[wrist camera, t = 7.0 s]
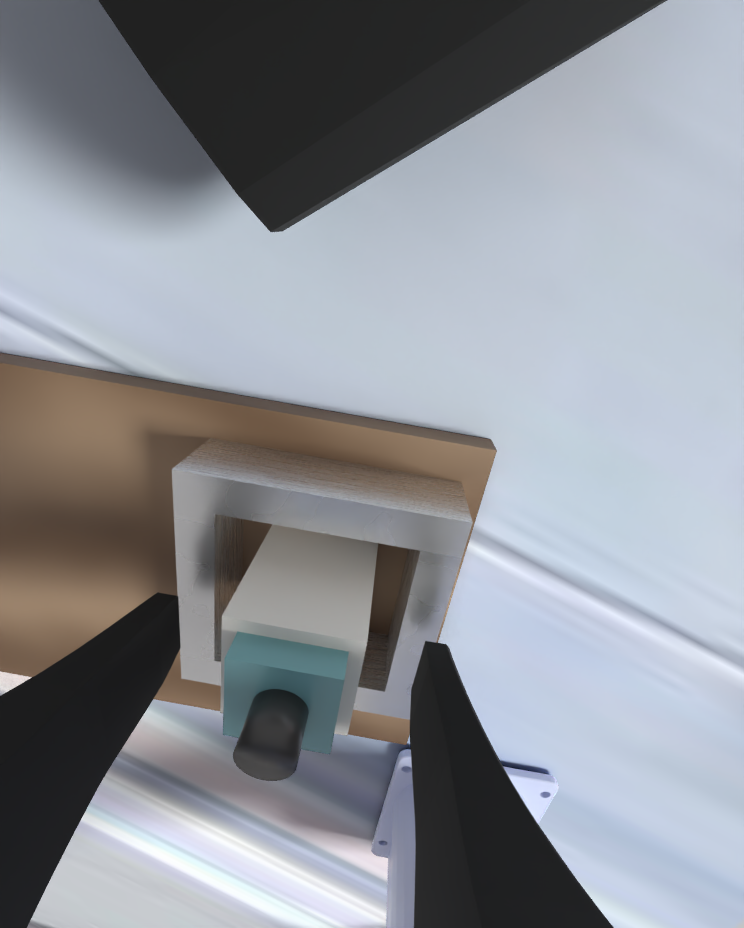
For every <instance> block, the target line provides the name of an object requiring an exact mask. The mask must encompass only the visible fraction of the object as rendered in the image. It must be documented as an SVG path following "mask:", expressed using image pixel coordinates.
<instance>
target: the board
mask: <svg viewBox="0 0 744 928" xmlns="http://www.w3.org/2000/svg"><path fill="white" fill-rule="evenodd" d="M210 438H215V439H220V440H226V441H231V442H237V443H243V444H248V445H254V446H260V447H265V448H271V449H277V450H282V451H288V452H293V453H299V454H305V455H310V456H316V457H322V458H327V459H333V460H339V461H344V462H350V463H355V464H361V465H367V466H372V467H378V468H384V469H389V470H395V471H401V472H406V473H412V474H417V475H423V476H429V477H434V478H440V479H446V480H451V481H457V482H462V485H463V489H464V493H465V496H466V500H467V504H468V507H469V511H470V515H471V519H472V522H473V523H472V527H471V530H470V533H469V536H468V540H467V543H466V546H465V550H464V553H463V556H462V559H461V563H460V566H459V569H458V572H457V576H456V579H455V582H454V586H453V589H452V592H451V595H450V599H449V602H448V605H447V608H446V612H445V615H444V618H443V622H442V625H441V628H440V631H439V635H438V638H437V641H436V643H438V640H439V637H440V634H441V630H442V627H443V624H444V621H445V617H446V614H447V611H448V608H449V604H450V601H451V598H452V595H453V591H454V588H455V585H456V582H457V578H458V575H459V572H460V569H461V565H462V562H463V559H464V556H465V552H466V549H467V546H468V543H469V539H470V536H471V533H472V530H473V526H474V523H475V520H476V517H477V513H478V510H479V507H480V504H481V500H482V497H483V494H484V491H485V487H486V484H487V481H488V478H489V474H490V471H491V468H492V465H493V461H494V458H495V455H496V452H497V450H496V448H495V446H494V444H493V442H492V441H491V439H485V438H480V437H474V436H468V435H463V434H457V433H451V432H446V431H440V430H434V429H429V428H423V427H417V426H412V425H406V424H400V423H395V422H389V421H383V420H378V419H372V418H366V417H361V416H355V415H350V414H344V413H338V412H333V411H327V410H321V409H316V408H310V407H304V406H299V405H293V404H287V403H282V402H276V401H270V400H265V399H259V398H253V397H248V396H242V395H236V394H231V393H225V392H219V391H214V390H208V389H202V388H197V387H191V386H185V385H180V384H174V383H168V382H163V381H157V380H151V379H146V378H140V377H135V376H129V375H123V374H118V373H112V372H106V371H101V370H95V369H89V368H84V367H78V366H72V365H67V364H61V363H55V362H50V361H44V360H38V359H33V358H27V357H21V356H16V355H10V354H4V353H0V671H1V672H7V673H12V674H18V675H23V676H29V677H34V676H35V675H37V674H39V673H40V672H42V671H43V670H45V669H47V668H48V667H50V666H51V665H53V664H54V663H56V662H58V661H59V660H61V659H62V658H64V657H65V656H67V655H68V654H70V653H72V652H73V651H75V650H76V649H78V648H79V647H81V646H82V645H84V644H85V643H86V642H88V641H89V640H91V639H92V638H94V637H95V636H97V635H98V634H99V633H101V632H102V631H104V630H105V629H107V628H108V627H110V626H111V625H112V624H114V623H115V622H117V621H118V620H119V619H121V618H122V617H124V616H125V615H126V614H128V613H129V612H131V611H132V610H133V609H135V608H136V607H137V606H139V605H140V604H142V603H143V602H144V601H146V600H147V599H149V598H150V597H151V596H153V595H154V594H156V593H157V592H159V593H164V594H170V595H175V596H178V594H177V573H176V551H175V529H174V508H173V486H172V469H173V468H174V467H175V466H176V465H178V464H179V463H180V462H181V461H183V460H184V459H185V458H186V457H188V456H189V455H190V454H191V453H193V452H194V451H195V450H196V449H198V448H199V447H200V446H201V445H203V444H204V443H205V442H206V441H208V440H209V439H210ZM271 526H272V524H268V523H262V522H257V521H251V520H246V519H244V530H243V558H242V579H243V577H244V575H245V573H246V571H247V570H248V568H249V566H250V564H251V562H252V561H253V559H254V557H255V555H256V553H257V551H258V550H259V548H260V546H261V544H262V542H263V541H264V539H265V537H266V535H267V533H268V532H269V530H270V528H271ZM407 553H408V548H402V547H397V546H391V545H386V544H380V543H378V550H377V559H376V568H375V577H374V586H373V595H372V604H371V613H370V623H369V632H372V633H378V634H383V635H388V633H389V629H390V625H391V621H392V616H393V612H394V608H395V604H396V599H397V595H398V591H399V587H400V583H401V578H402V574H403V570H404V566H405V561H406V557H407ZM154 699H156V700H161V701H167V702H172V703H178V704H183V705H189V706H194V707H200V708H205V709H211V710H217V711H220V707H221V686H220V685H214V684H209V683H203V682H198V681H192V680H187V679H181V659H180V650H179V652H178V654H177V656H176V658H175V660H174V662H173V664H172V667H171V669H170V671H169V673H168V674H167V676H166V678H165V680H164V682H163V684H162V686H161V687H160V689H159V691H158V692H157V694H156V695H155V697H154ZM348 734H349V735H354V736H360V737H365V738H371V739H376V740H382V741H387V742H393V743H399V744H404V745H406V744H407V741H408V738H409V734H410V720H408V719H402V718H397V717H391V716H386V715H380V714H375V713H369V712H363V711H358V710H353V712H352V717H351V721H350V726H349V731H348Z"/></svg>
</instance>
